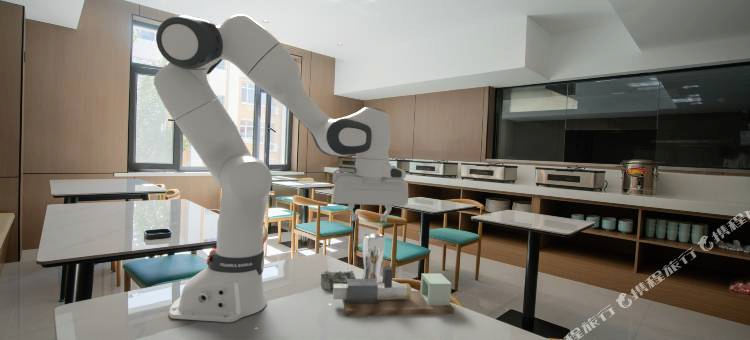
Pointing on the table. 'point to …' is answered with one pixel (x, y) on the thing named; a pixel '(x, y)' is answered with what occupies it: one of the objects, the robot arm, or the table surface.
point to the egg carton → (335, 278)
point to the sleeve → (361, 291)
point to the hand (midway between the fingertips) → (369, 221)
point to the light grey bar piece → (379, 288)
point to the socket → (435, 289)
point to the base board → (397, 307)
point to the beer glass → (373, 256)
